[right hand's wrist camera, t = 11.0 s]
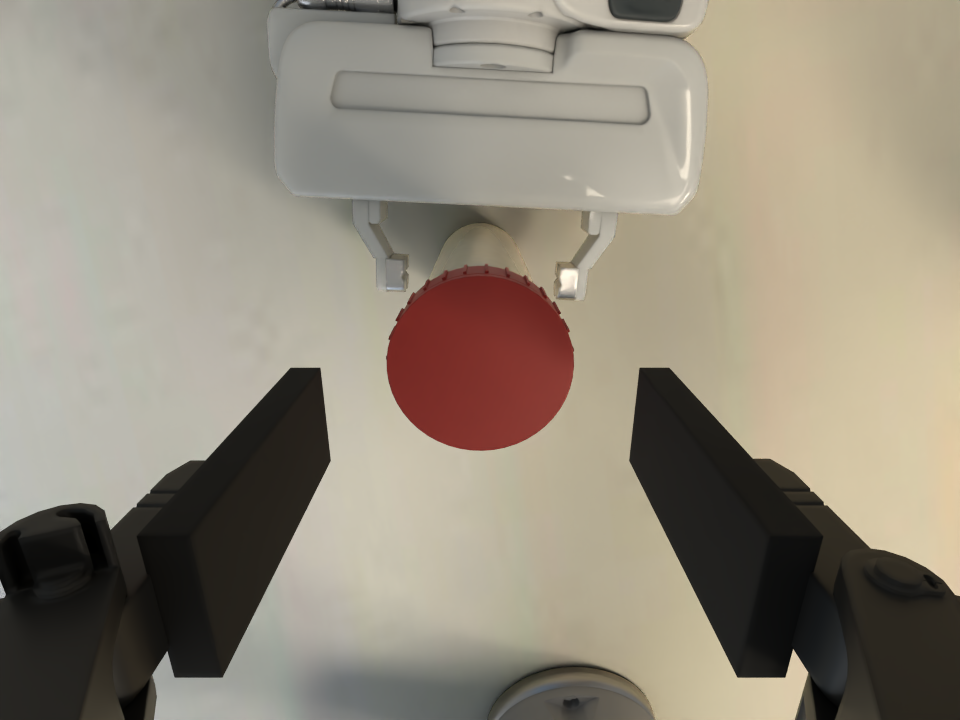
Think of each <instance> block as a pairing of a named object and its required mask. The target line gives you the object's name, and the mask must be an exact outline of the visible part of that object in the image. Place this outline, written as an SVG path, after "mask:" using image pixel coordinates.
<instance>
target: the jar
mask: <svg viewBox="0 0 960 720" xmlns="http://www.w3.org/2000/svg"><path fill="white" fill-rule="evenodd" d="M466 264H467V266H468V267H469V266H485V264H488V266H492V267H497V268H502V269H505V267H508V268H509V271H512V272H514V273H517V274H519V275H521V276H523V277H524V275H526V276H527V277H528V279H529V281H531V282H533V281H532V278H531V276H530V274H529V272H528V269H527V267H526V265H525V263H524V260H523V258H522V256H521V254H520V251H519V249H518V247H517V245H516V243H515V242H514V240H513V239H512V238H511V236H510V235H509V234H507V233H506V232H505V231H504V230H502V229H501V228H499V227H497V226H494V225H491V224H486V223H474V224H470V225H466V226H464V227H462V228H460V229H458V230H457V231H455V232H454V233H453V234H452V235H451V236H450V237H449V238H448V239H447V240H446V242H445V244H444V245H443V248H442V250H441V252H440V254H439V257H438V259H437V261H436V264H435V266H434V268H433V270H432V273H431V275H430V277H429V280H430V281H431V280H432V279H434V278H436V277H438V276H440V275H442V274H443V273H444V271H445V270H447V271H448V272H449V271H452V270H454V269H459V268H463V267H464V265H466Z"/></svg>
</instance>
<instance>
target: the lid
mask: <svg viewBox="0 0 960 720" xmlns="http://www.w3.org/2000/svg"><path fill="white" fill-rule="evenodd" d="M559 314H561V312H560V311H559V309H558V307H557V305H556V303H555V302H553V303H552V302H551V300H550V299H549V298H548V297H547V295H546V293H545V291H544V289H543V288H542V287H540V288H539V287H537V286H536V285H535V284H534V283H533V282H531V281H529V279H528V277H527V276H526V275H524V277H523V276H521V275H519V274H517V273H514V272H512V271H509V268H508V267H505V269H502V268H497V267H492V266H488V264H485V266H469V267H468V266H467V264H466V265H464V267H463V268H459V269H454V270H452V271H449V272H448V271H447V270H445V271H444V273H443V274H442V275H440V276H438V277H436V278H434V279H432V280H431V281H430V280H429V279H428V280H427V281H426V283H425V285H424V286H423V287H422V288H421V289H420V290H419V291H418V292H417V293H414V292H413V293H412V295H411V297H410V298H409V300H408V302H407V306H406V307H405V309H403V308H402V309H401V311H400V313H399V315H398V317H397V318H396V321H397V324H396V326H394V328H393V330H392V332H391V334H390V336H389V340H390V342H389V346H388V352H387V356H386V359H387V374H388V380H389V384H390V387H391V391H392V393H393V396H394V398H395V400H396V402H397V404H398V405H399V407H400V409H401V410H402V412H403V413H404V414H405V415H406V417H407V418H408V419H409V420H410V421H411V422H412V423H413V424H414V425H415V426H416V427H417V428H418V429H419V430H421V431H422V432H423V433H425V434H426V435H428V436H429V437H431V438H433V439H435V440H437V441H439V442H441V443H444V444H446V445H449V446H452V447H456V448H460V449H466V450H479V451H484V450H495V449H500V448H505V447H508V446H511V445H514V444H517V443H519V442H522V441H524V440H526V439H528V438H529V437H531V436H533V435H534V434H536V433H537V432H538V431H540V430H541V429H542V428H543V427H545V426H546V425H547V424H548V423H549V422H550V421H551V420H552V419H553V418H554V416H555V415H556V414H557V412H558V411H559V410H560V408H561V406H562V405H563V403H564V401H565V399H566V397H567V394H568V392H569V389H570V386H571V382H572V378H573V369H574V355H573V351H574V348H573V346H572V343H571V340H570V337H569V334H568V332H570V331H569V328H568V326H567V325H566V323H565V321H564V319H561V317H560V315H559Z"/></svg>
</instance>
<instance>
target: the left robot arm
mask: <svg viewBox="0 0 960 720" xmlns="http://www.w3.org/2000/svg"><path fill="white" fill-rule="evenodd" d="M708 1H709V0H277V1H276V3H275V4H274V5H273V7H272V8H271V10H270V11H269V14H268V19H267V35H268V49H269V60H270V64H271V68H272V71H273V73H274V75H275V77H276V79H277V86H276V98H275V115H274V161H275V171H276V174H277V176H278V178H279V179H280V180H281V182H282V183H283V184H284V185H285V187H286V188H287V189H288V190H289V191H290V193H291V194H293V195H294V196H300V197H319V198H338V199H352V212H353V224H354V226H355V228H356V229H357V231H358V233H359V234H360V236H361V238H362V239H363V241H364V243H365V244H366V246H367V248H368V249H369V251H370V253H371V254H372V256H373V258H376V281H377V290H378V291H395V292H406V289H407V288H408V283H409V274H408V273H407V271H406V270H407V268H408V267H409V254H395V253H394V252H393V250H392V248H391V246H390V245H389V243H388V241H387V239H386V237H385V235H384V233H383V232H382V230H381V228H380V226H379V223H381V222H382V221H384V220H386V219H387V201H397V202H417V203H436V204H456V205H475V206H495V207H514V208H534V209H553V210H573V211H582V220H581V229H582V230H584V231H585V232H587V233H588V234H589V235H588V237H587V238H586V240H585V241H584V243H583V244H582V246H581V247H580V249H579V250H578V251H577V253H576V254H575V256H574V257H573V259H572V260H571V262H556V268H555V275H556V276H557V279H556V280H555V281H554V296H556V299H559V300H576V301H583V300H584V298H585V295H586V287H587V278H588V270H589V269H591V268H592V267H593V265H594V264H595V263H596V261H597V260H598V259H599V257H600V256H601V255H602V253H603V252H604V251H605V249H606V248H607V247H608V245H609V244H610V243H611V241H612V240H613V239H614V237H615V232H616V225H617V218H618V213H631V214H651V215H671V216H673V215H677V214H678V213H680V212H681V211H682V210H683V209H684V208H685V207H686V206H687V204H688V203H689V202H690V201H691V200H692V199H693V198H694V196H695V195H696V193H697V190H698V186H699V181H700V176H701V170H702V163H703V156H704V148H705V139H706V127H707V112H708V78H707V72H706V68H705V64H704V62H703V59H702V57H701V56H700V54H699V52H698V51H697V50H696V49H695V48H694V47H693V46H692V45H691V44H690V43H688V42H687V41H685V40H684V39H685V38H687V37H688V36H689V35H690V34H692V33H693V32H694V31H695V30H696V29H697V28H698V27H699V26H700V24H701V23H702V21H703V19H704V17H705V14H706V10H707V6H708ZM294 2H297V3H298V5H299V7H300V8H302V9H298V8H286V7H287V6H288V5H290V4H292V3H294ZM334 10H337V11H334ZM338 10H340V11H338ZM396 12H397V17H396ZM397 23H398V25H397Z"/></svg>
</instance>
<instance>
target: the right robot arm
mask: <svg viewBox="0 0 960 720" xmlns="http://www.w3.org/2000/svg"><path fill="white" fill-rule="evenodd" d="M330 461H331V459H330V450H329V441H328V432H327V423H326V414H325V405H324V396H323V387H322V378H321V369H320V368H290V369H289V370H288V371H287V372H286V374H285V375H284V376H283V377H282V378H281V379H280V380H279V381H278V382H277V383H276V384H275V386H274V387H273V388H272V389H271V390H270V391H269V392H268V393H267V394H266V395H265V396H264V398H263V399H262V400H261V401H260V402H259V403H258V404H257V405H256V406H255V407H254V408H253V410H252V411H251V412H250V413H249V414H248V415H247V416H246V417H245V418H244V419H243V420H242V421H241V423H240V424H239V425H238V426H237V427H236V428H235V429H234V430H233V431H232V432H231V433H230V435H229V436H228V437H227V438H226V439H225V440H224V441H223V442H222V443H221V444H220V445H219V447H218V448H217V449H216V450H215V451H214V452H213V453H212V454H211V455H210V456H209V457H208V459H207V460H206V461H189V462H187V463H185V464H184V465H182V466H180V467H179V468H177V469H175V470H173V471H172V472H170V473H168V474H166V475H165V476H164V477H163V478H162V479H161V480H160V481H159V482H158V483H157V484H156V485H155V486H154V487H153V488H152V489H151V490H150V494H146V495H145V496H144V497H143V498H142V499H141V500H140V501H139V502H138V503H137V507H136V508H132V509H131V510H130V511H129V512H128V513H127V514H126V515H125V516H124V517H123V518H122V519H121V520H120V521H119V522H118V523H117V524H116V525H115V526H114V527H113V528H112V529H111V530H110V528H109V525H108V521H107V518H106V514H105V511H104V510H103V509H101V508H100V507H98V506H97V505H92V504H83V503H78V504H69V505H61V506H57V507H54V508H50V509H46V510H43V511H39V512H37V513H34V514H32V515H30V516H28V517H25V518H23V519H21V520H18V521H16V522H15V523H13V524H12V525H10V526H9V527H7V528H5V529H4V530H2V531H1V532H0V580H1V583H2V586H3V588H4V591H5V593H6V596H5V598H2V599H0V720H154V714H155V706H156V698H157V695H156V688H155V683H154V680H153V676H152V674H153V672H154V671H155V669H156V668H157V666H158V664H159V663H160V661H161V660H162V658H163V657H164V655H165V653H166V652H167V651H168V655H169V658H170V662H171V666H172V669H173V673H174V677H175V678H222V677H223V675H224V673H225V671H226V669H227V667H228V665H229V663H230V661H231V659H232V657H233V655H234V653H235V651H236V649H237V647H238V645H239V643H240V641H241V639H242V637H243V635H244V633H245V631H246V629H247V627H248V625H249V623H250V621H251V619H252V617H253V615H254V613H255V611H256V609H257V607H258V605H259V603H260V601H261V599H262V597H263V595H264V593H265V591H266V589H267V587H268V585H269V583H270V581H271V579H272V577H273V575H274V573H275V571H276V569H277V567H278V565H279V563H280V561H281V559H282V557H283V555H284V553H285V551H286V549H287V547H288V545H289V543H290V541H291V539H292V537H293V535H294V533H295V531H296V529H297V527H298V525H299V523H300V521H301V519H302V517H303V515H304V513H305V511H306V509H307V507H308V505H309V503H310V501H311V499H312V497H313V495H314V493H315V491H316V489H317V487H318V485H319V483H320V481H321V479H322V477H323V475H324V473H325V471H326V469H327V467H328V465H329V463H330ZM629 461H630V463H631V465H632V467H633V469H634V471H635V473H636V475H637V477H638V479H639V481H640V483H641V485H642V487H643V489H644V491H645V493H646V495H647V497H648V499H649V501H650V503H651V505H652V507H653V509H654V511H655V513H656V515H657V517H658V519H659V521H660V523H661V525H662V527H663V529H664V531H665V533H666V535H667V537H668V539H669V541H670V543H671V545H672V547H673V549H674V551H675V553H676V555H677V557H678V559H679V561H680V563H681V565H682V567H683V569H684V571H685V573H686V575H687V577H688V579H689V581H690V583H691V585H692V587H693V589H694V591H695V593H696V595H697V597H698V599H699V601H700V603H701V605H702V607H703V609H704V611H705V613H706V615H707V617H708V619H709V621H710V623H711V625H712V627H713V629H714V631H715V633H716V635H717V637H718V639H719V641H720V643H721V645H722V647H723V649H724V651H725V653H726V655H727V657H728V659H729V661H730V663H731V665H732V667H733V669H734V671H735V673H736V675H737V677H738V678H785V677H786V673H787V669H788V666H789V662H790V658H791V654H792V651H793V649H794V651H795V652H796V654H797V655H798V657H799V658H800V660H801V662H802V663H803V665H804V666H805V668H806V669H807V671H808V672H809V673H808V676H807V680H806V683H805V687H804V690H803V693H802V697H801V700H800V704H799V707H798V711H797V714H796V718H795V720H960V596H956V595H954V593H953V592H952V591H951V589H950V588H949V587H948V586H947V584H946V583H945V582H944V581H943V580H942V579H941V578H939V577H938V576H937V575H935V574H934V573H933V572H931V571H930V570H929V569H927V568H926V567H924V566H922V565H920V564H918V563H916V562H914V561H912V560H910V559H908V558H906V557H903V556H900V555H897V554H894V553H891V552H887V551H884V550H876V549H871V548H869V547H868V546H867V545H866V544H865V543H864V542H863V541H862V540H861V539H860V538H859V537H858V536H857V535H856V534H855V533H854V532H853V531H852V530H851V529H850V528H849V527H848V526H847V525H846V524H845V523H844V522H843V521H842V520H841V519H840V518H839V517H838V516H837V515H836V514H835V513H834V512H833V511H832V510H831V509H830V508H829V507H828V506H824V502H823V501H822V500H821V499H820V498H819V497H818V496H817V495H816V494H815V493H814V492H810V488H809V487H808V486H807V485H806V484H805V483H804V482H803V481H802V480H801V479H800V478H799V477H798V476H797V475H796V474H795V473H794V472H792V471H790V470H789V469H787V468H785V467H783V466H782V465H780V464H778V463H776V462H775V461H773V460H771V459H752V457H751V456H750V455H749V454H748V453H747V452H746V451H745V450H744V449H743V448H742V447H741V445H740V444H739V443H738V442H737V441H736V440H735V439H734V438H733V437H732V436H731V435H730V433H729V432H728V431H727V430H726V429H725V428H724V427H723V426H722V425H721V424H720V423H719V422H718V420H717V419H716V418H715V417H714V416H713V415H712V414H711V413H710V412H709V411H708V410H707V408H706V407H705V406H704V405H703V404H702V403H701V402H700V401H699V400H698V399H697V398H696V396H695V395H694V394H693V393H692V392H691V391H690V390H689V389H688V388H687V387H686V386H685V384H684V383H683V382H682V381H681V380H680V379H679V378H678V377H677V376H676V375H675V374H674V372H673V371H672V370H671V369H670V368H640V369H639V378H638V387H637V396H636V405H635V414H634V423H633V432H632V441H631V450H630V459H629ZM488 720H655V717H654V714H653V711H652V708H651V705H650V704H649V702H648V700H647V698H646V697H645V695H644V694H643V693H642V692H641V691H640V690H639V689H638V688H637V687H636V686H635V685H633V684H632V683H631V682H629V681H628V680H626V679H624V678H622V677H620V676H618V675H616V674H613V673H610V672H607V671H603V670H600V669H594V668H587V667H564V668H556V669H550V670H546V671H542V672H539V673H536V674H533V675H531V676H529V677H526V678H524V679H522V680H521V681H519V682H517V683H516V684H514V685H512V686H511V687H510V688H509V689H507V690H506V691H505V692H504V693H503V694H502V695H501V696H500V697H499V698H498V700H497V701H496V702H495V704H494V705H493V707H492V709H491V711H490V714H489V716H488Z"/></svg>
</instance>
